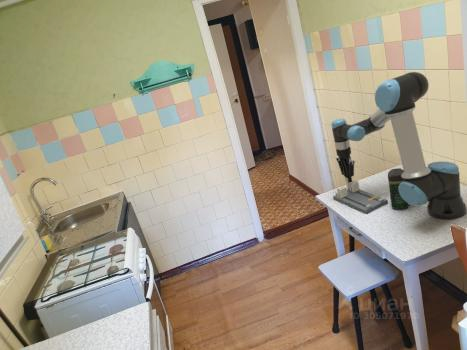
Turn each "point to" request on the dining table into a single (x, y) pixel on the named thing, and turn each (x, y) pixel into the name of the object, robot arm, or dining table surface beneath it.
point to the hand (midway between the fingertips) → (349, 187)
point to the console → (361, 201)
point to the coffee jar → (396, 189)
